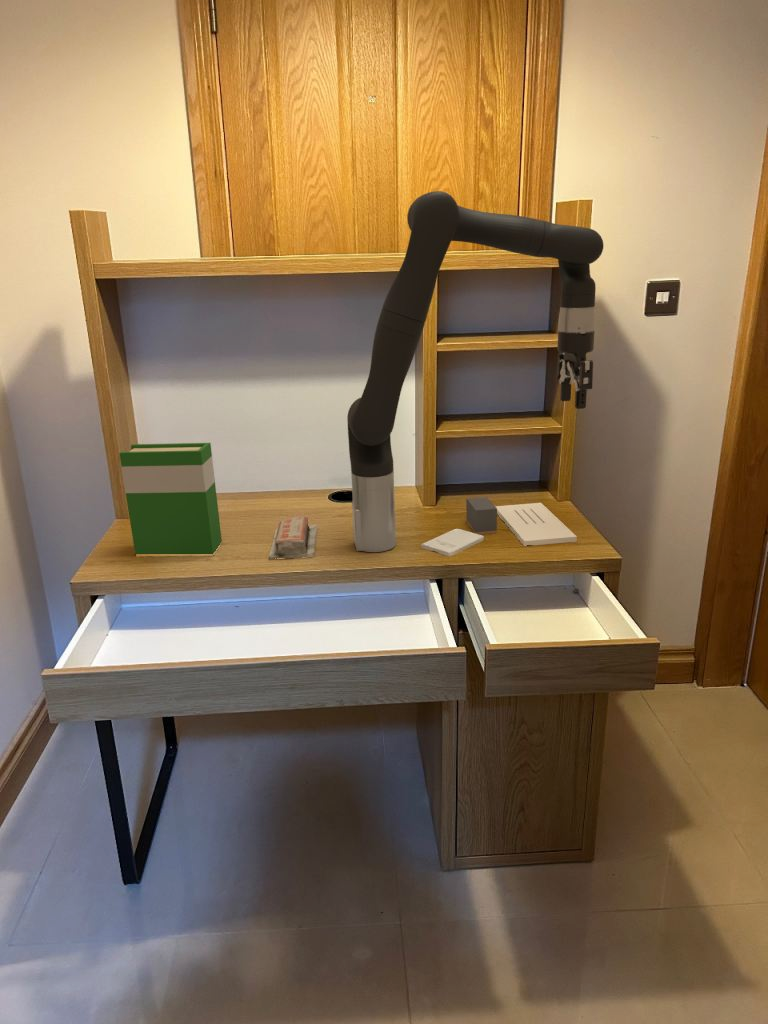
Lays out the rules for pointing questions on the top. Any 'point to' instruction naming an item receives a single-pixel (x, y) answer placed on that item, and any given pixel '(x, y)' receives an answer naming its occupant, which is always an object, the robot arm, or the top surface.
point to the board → (535, 524)
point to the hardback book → (171, 498)
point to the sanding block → (481, 515)
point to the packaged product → (294, 539)
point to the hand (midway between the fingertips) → (572, 404)
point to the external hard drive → (452, 542)
